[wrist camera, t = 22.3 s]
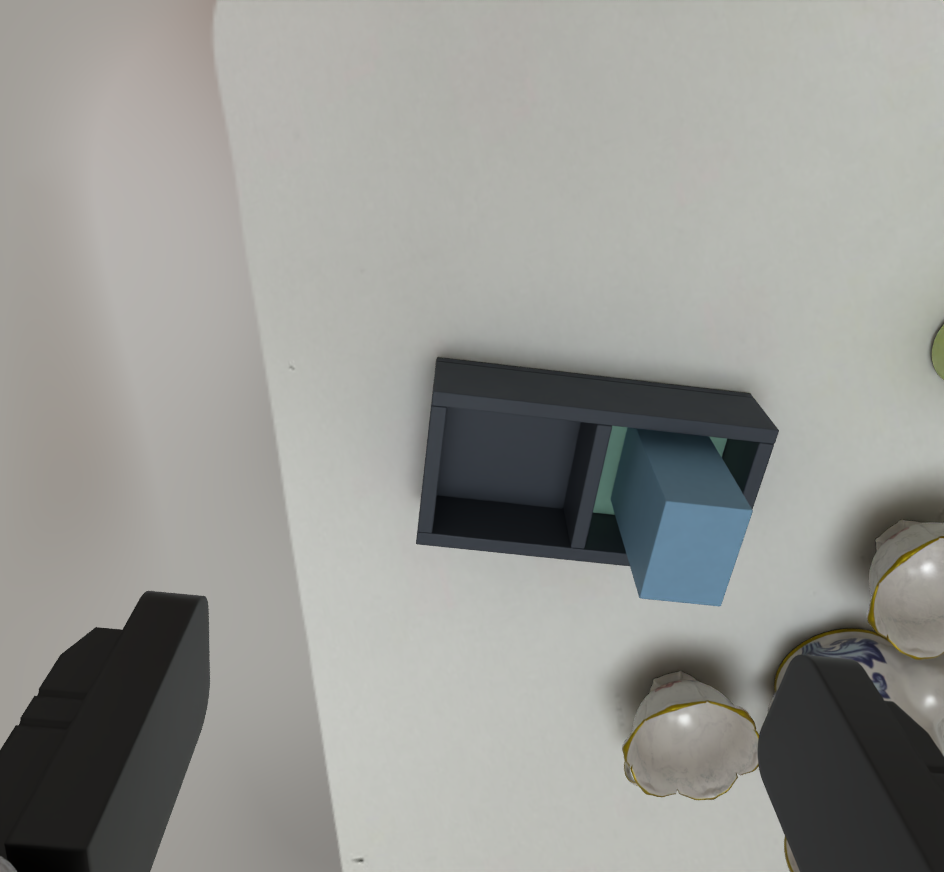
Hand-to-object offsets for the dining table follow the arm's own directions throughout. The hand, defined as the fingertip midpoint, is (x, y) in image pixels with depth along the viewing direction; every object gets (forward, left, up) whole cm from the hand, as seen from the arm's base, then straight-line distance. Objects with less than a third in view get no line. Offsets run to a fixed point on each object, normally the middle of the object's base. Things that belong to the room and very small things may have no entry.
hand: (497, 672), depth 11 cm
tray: (+7, -12, -32) cm, 35 cm away
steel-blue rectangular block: (+12, -12, -31) cm, 35 cm away
